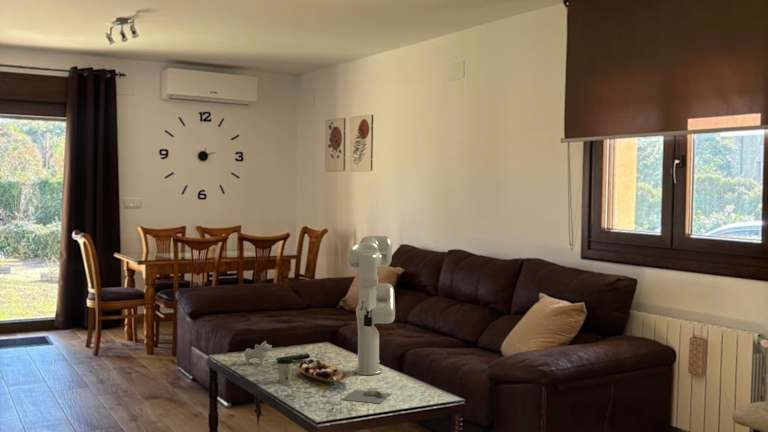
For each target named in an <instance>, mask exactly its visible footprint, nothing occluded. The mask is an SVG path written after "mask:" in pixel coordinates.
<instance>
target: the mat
mask: <svg viewBox="0 0 768 432" xmlns="http://www.w3.org/2000/svg"><path fill="white" fill-rule="evenodd" d="M384 393H385V398H381V397H379V396H378V395H367V390H360V389H353V391H351V392H350V393H349V394H347V395H345V396H344V397H343V398H342V399H341V401H348V402H358V403H366V404H367V403H368V404H375V405H376V404H377V405H381V404H382V403H383V402H384V401H386V400H387V399H388V398H389V397H390V396H391V395H392V393H390V392H384Z"/></svg>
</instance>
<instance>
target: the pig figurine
mask: <svg viewBox="0 0 768 432" xmlns="http://www.w3.org/2000/svg"><path fill="white" fill-rule="evenodd" d="M272 348H273V345H272V344H269V343H267V340H265V341H263V342H262V343H261V344H255V345H254V348H253V349H252V348H245V349H244V357H245V361H246V362H245V363H246V366H250V363H251V362H250V360H252V359H258V360H259V361H260V365H261V366H264V365H265V364H264V359H265V358H266V357H267V355H268V351H271V350H272Z"/></svg>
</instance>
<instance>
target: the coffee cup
mask: <svg viewBox="0 0 768 432" xmlns="http://www.w3.org/2000/svg"><path fill="white" fill-rule="evenodd" d="M293 364H294V360H293V359H292V358H291V357H289V356H288V357H287V356H283V357H280V358H279V359H278V360H277V367H278V376H279V382H280V383H281V384H289V383H291V382H292V377H293V376H292V373H293V367H294V366H293Z"/></svg>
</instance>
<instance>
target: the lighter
mask: <svg viewBox="0 0 768 432" xmlns="http://www.w3.org/2000/svg"><path fill="white" fill-rule="evenodd" d="M366 391H367V395H378V396H379V397H381V398H385V393H386V392H383V391H382V390H379V389H378V387H368V388H367V389H366Z"/></svg>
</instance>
